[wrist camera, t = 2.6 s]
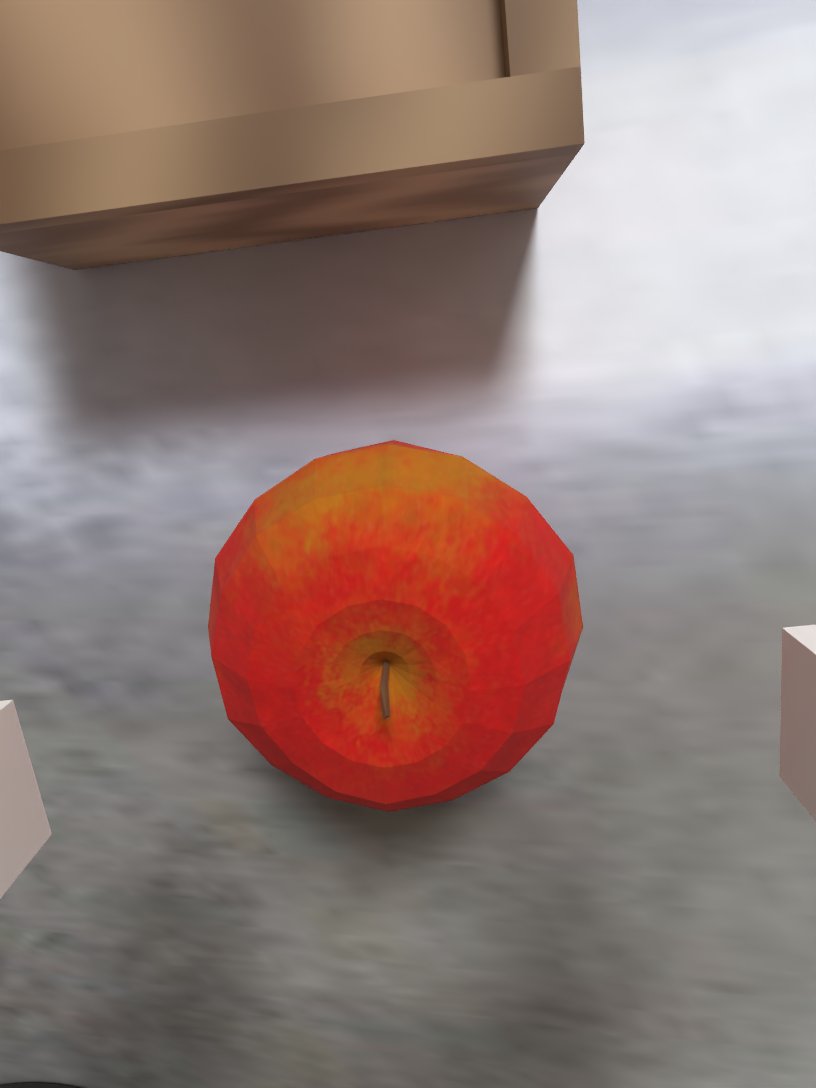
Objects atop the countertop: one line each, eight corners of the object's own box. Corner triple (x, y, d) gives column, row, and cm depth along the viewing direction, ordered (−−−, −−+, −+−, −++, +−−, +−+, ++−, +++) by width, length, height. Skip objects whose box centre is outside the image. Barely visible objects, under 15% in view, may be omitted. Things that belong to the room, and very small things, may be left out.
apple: (562, 448, 24) (689, 533, 12) (503, 687, 26) (563, 947, 15) (292, 395, 24) (164, 431, 12) (257, 641, 26) (119, 867, 14)
